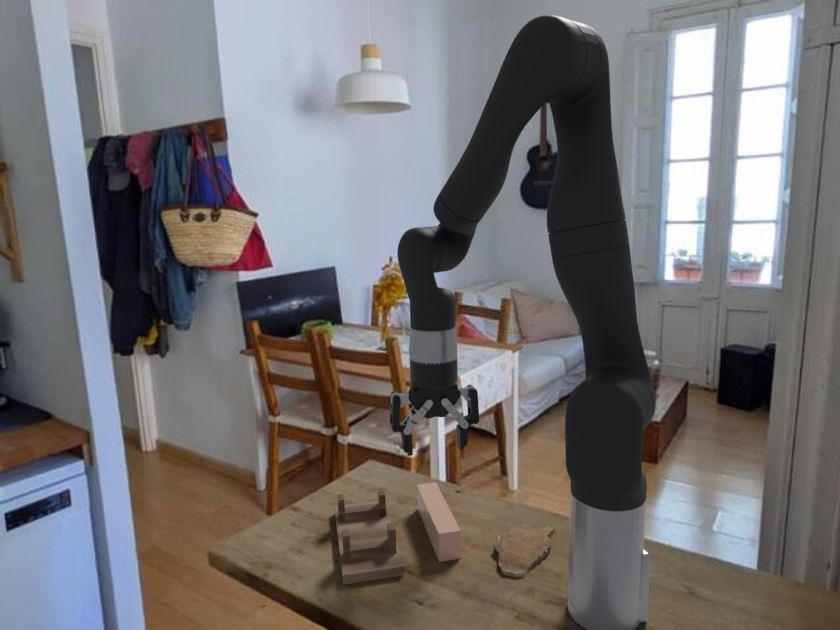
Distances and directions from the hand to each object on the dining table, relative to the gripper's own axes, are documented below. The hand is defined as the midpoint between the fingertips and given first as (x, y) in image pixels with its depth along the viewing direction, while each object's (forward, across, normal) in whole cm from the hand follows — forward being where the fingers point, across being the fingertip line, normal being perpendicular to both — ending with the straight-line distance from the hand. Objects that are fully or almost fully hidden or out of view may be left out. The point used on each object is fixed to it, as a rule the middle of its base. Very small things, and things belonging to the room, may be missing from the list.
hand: (435, 451), depth 95 cm
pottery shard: (+15, +12, -8) cm, 21 cm away
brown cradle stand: (+14, -12, 0) cm, 19 cm away
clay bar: (+15, 0, 0) cm, 15 cm away
